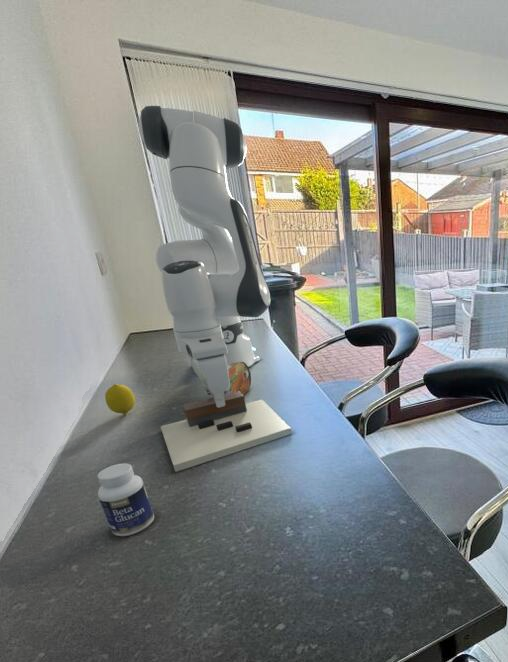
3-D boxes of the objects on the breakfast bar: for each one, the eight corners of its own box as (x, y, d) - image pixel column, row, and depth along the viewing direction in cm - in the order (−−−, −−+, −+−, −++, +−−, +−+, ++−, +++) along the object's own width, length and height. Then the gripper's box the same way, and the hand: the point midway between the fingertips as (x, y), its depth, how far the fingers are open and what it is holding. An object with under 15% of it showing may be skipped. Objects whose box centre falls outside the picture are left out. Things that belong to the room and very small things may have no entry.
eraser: (186, 420, 90) (182, 404, 88) (242, 405, 97) (239, 390, 95) (189, 427, 87) (185, 410, 85) (247, 411, 94) (243, 395, 92)
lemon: (144, 409, 100) (134, 379, 97) (126, 419, 95) (116, 388, 92) (124, 409, 100) (114, 379, 97) (105, 419, 95) (94, 388, 92)
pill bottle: (119, 543, 57) (97, 487, 53) (107, 527, 60) (85, 473, 57) (161, 521, 61) (142, 468, 57) (147, 508, 64) (129, 456, 61)
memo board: (162, 432, 88) (160, 426, 88) (263, 404, 101) (262, 399, 100) (175, 472, 73) (173, 465, 73) (291, 434, 86) (290, 427, 85)
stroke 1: (198, 427, 87) (197, 423, 86) (213, 423, 88) (212, 419, 88) (199, 429, 86) (198, 425, 85) (214, 425, 87) (213, 421, 87)
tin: (228, 408, 99) (220, 377, 96) (215, 409, 99) (208, 377, 96) (254, 385, 113) (248, 357, 110) (243, 385, 113) (237, 357, 110)
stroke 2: (217, 429, 86) (216, 424, 85) (231, 424, 87) (230, 420, 87) (218, 431, 85) (217, 426, 84) (233, 426, 86) (232, 422, 86)
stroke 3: (236, 430, 85) (235, 426, 84) (250, 426, 86) (249, 422, 86) (237, 432, 84) (236, 428, 84) (252, 428, 86) (251, 424, 85)
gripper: (176, 334, 91) (191, 390, 96) (193, 353, 76) (210, 418, 81) (206, 329, 94) (219, 383, 99) (228, 346, 79) (242, 409, 84)
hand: (215, 399), depth 90 cm, fingers open, 8 cm apart
